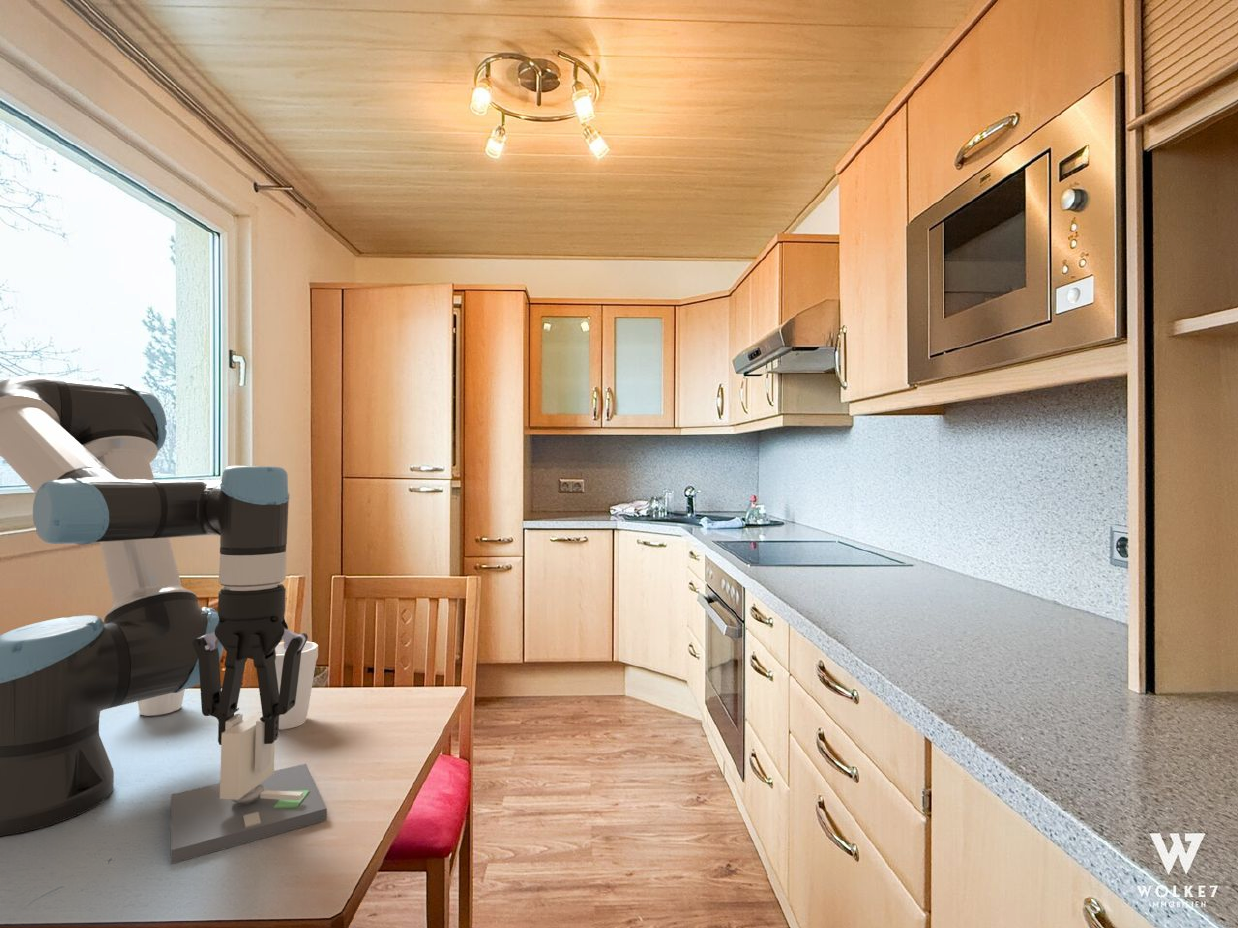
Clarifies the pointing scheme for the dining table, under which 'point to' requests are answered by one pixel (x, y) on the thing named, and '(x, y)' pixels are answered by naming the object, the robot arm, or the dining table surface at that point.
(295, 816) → the base
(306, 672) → the foam cup
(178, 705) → the cup
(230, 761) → the cream angular block
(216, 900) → the dining table surface
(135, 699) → the robot arm
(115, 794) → the dining table surface
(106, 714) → the dining table surface
